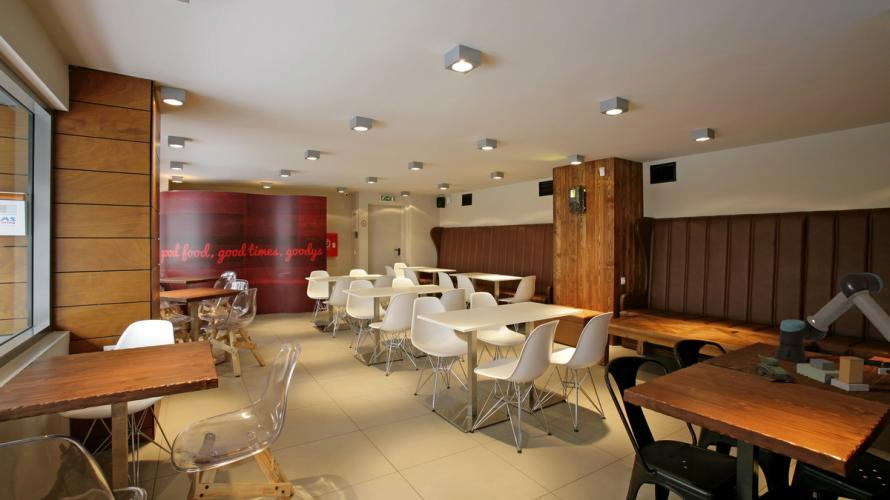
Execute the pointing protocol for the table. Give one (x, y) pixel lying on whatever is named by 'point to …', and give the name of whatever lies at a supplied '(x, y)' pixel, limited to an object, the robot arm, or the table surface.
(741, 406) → the table surface
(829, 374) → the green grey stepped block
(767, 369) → the toy
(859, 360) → the tan wooden block
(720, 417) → the table surface
